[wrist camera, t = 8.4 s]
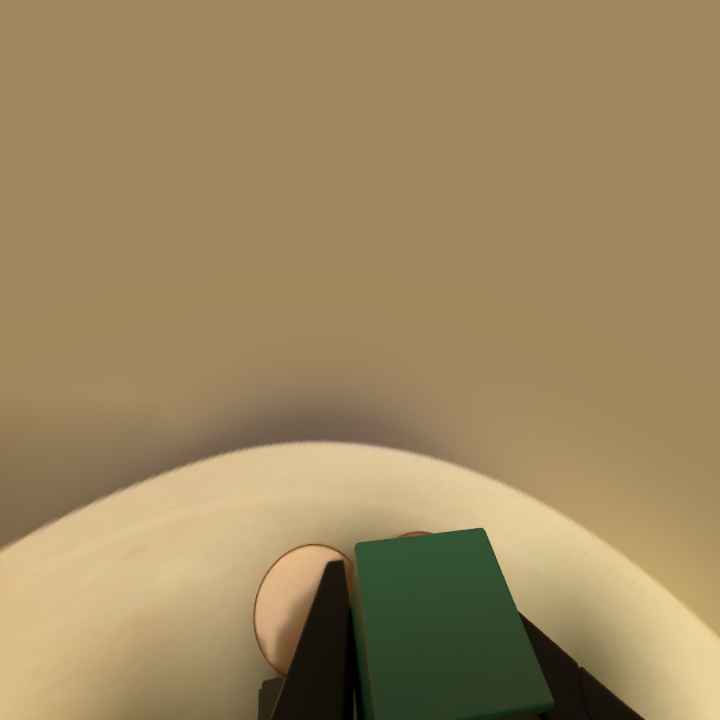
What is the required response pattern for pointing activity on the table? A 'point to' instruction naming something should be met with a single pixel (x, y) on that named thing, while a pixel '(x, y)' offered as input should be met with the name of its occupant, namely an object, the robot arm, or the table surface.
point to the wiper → (436, 634)
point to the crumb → (290, 600)
